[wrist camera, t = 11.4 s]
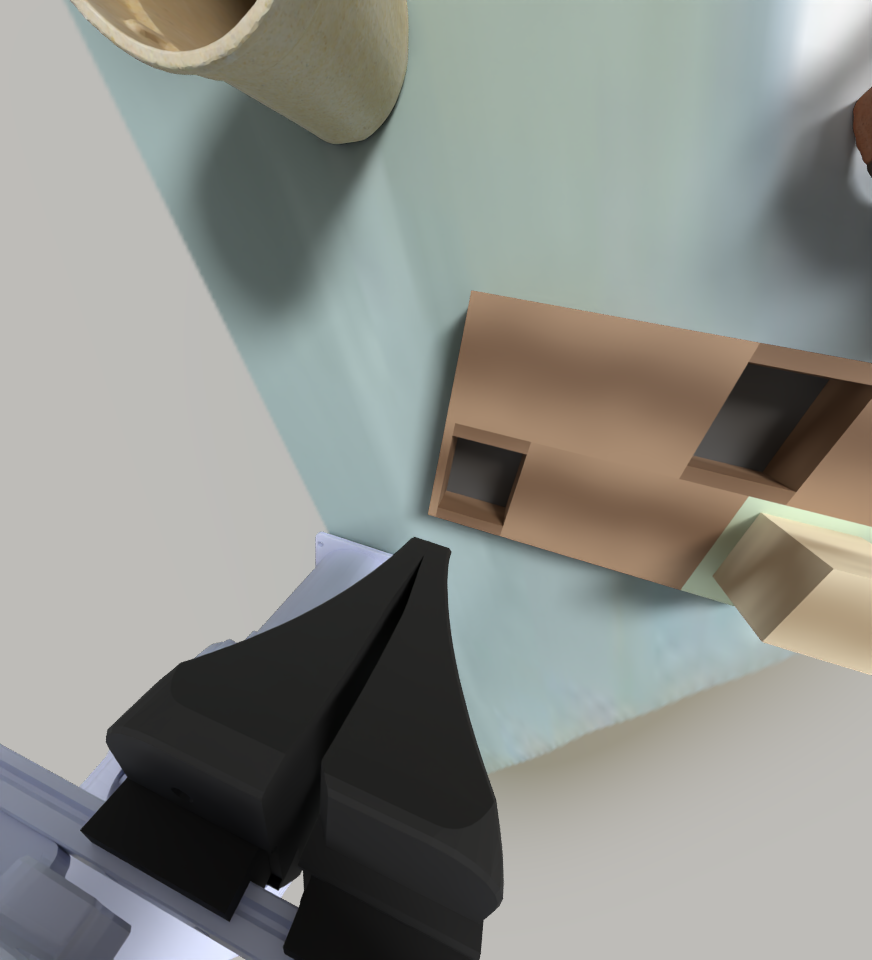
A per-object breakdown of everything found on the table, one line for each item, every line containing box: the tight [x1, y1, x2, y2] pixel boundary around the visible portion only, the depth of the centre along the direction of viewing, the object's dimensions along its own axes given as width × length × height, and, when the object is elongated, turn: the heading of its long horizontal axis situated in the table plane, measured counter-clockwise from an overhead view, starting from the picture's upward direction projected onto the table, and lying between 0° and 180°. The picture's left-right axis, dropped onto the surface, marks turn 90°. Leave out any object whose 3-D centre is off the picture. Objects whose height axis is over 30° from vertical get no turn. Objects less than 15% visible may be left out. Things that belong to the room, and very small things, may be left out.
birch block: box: [713, 513, 872, 675], centre depth 14 cm, size 4×4×4 cm
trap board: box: [428, 291, 872, 606], centre depth 16 cm, size 12×20×2 cm, turn 80°
